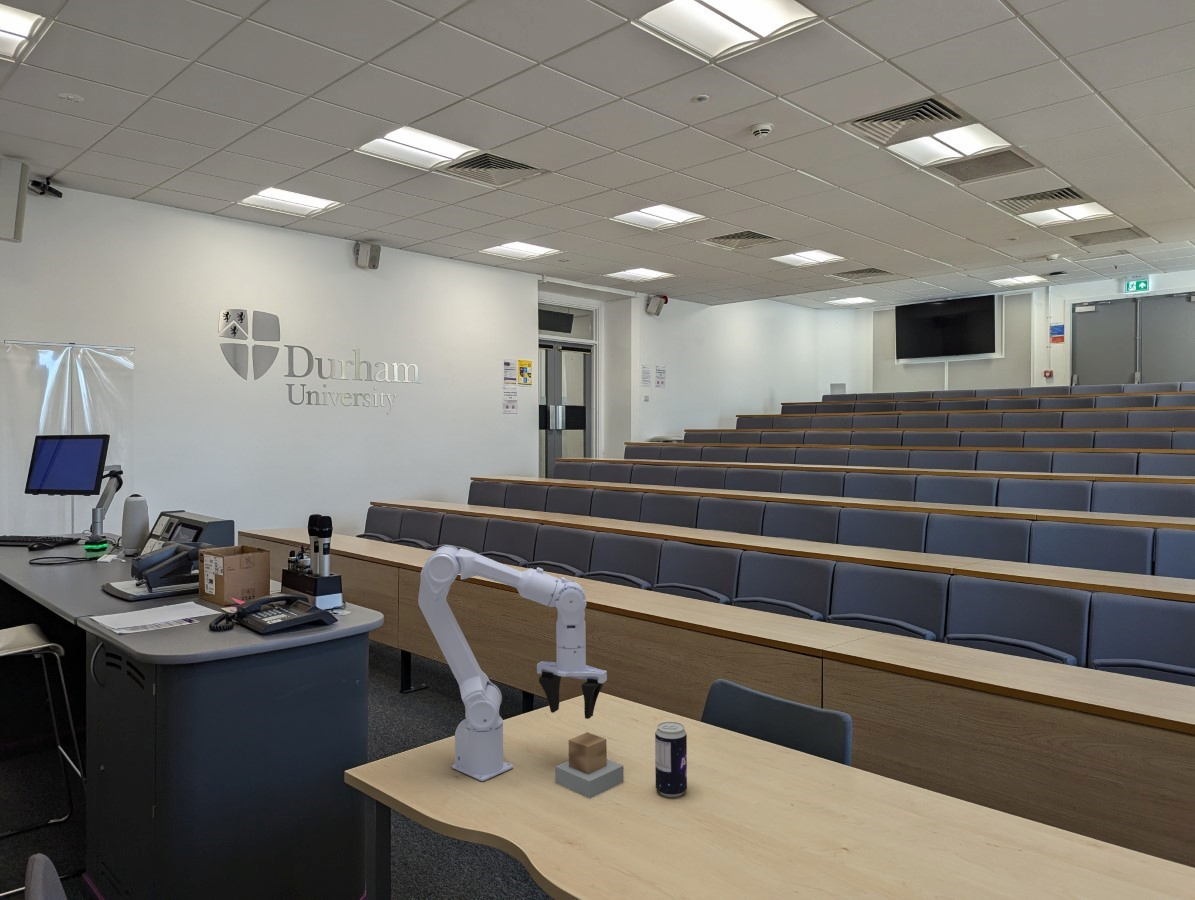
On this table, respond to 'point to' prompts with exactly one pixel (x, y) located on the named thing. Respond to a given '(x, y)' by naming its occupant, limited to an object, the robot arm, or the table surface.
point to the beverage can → (671, 759)
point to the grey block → (589, 778)
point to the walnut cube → (587, 753)
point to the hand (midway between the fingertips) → (571, 713)
